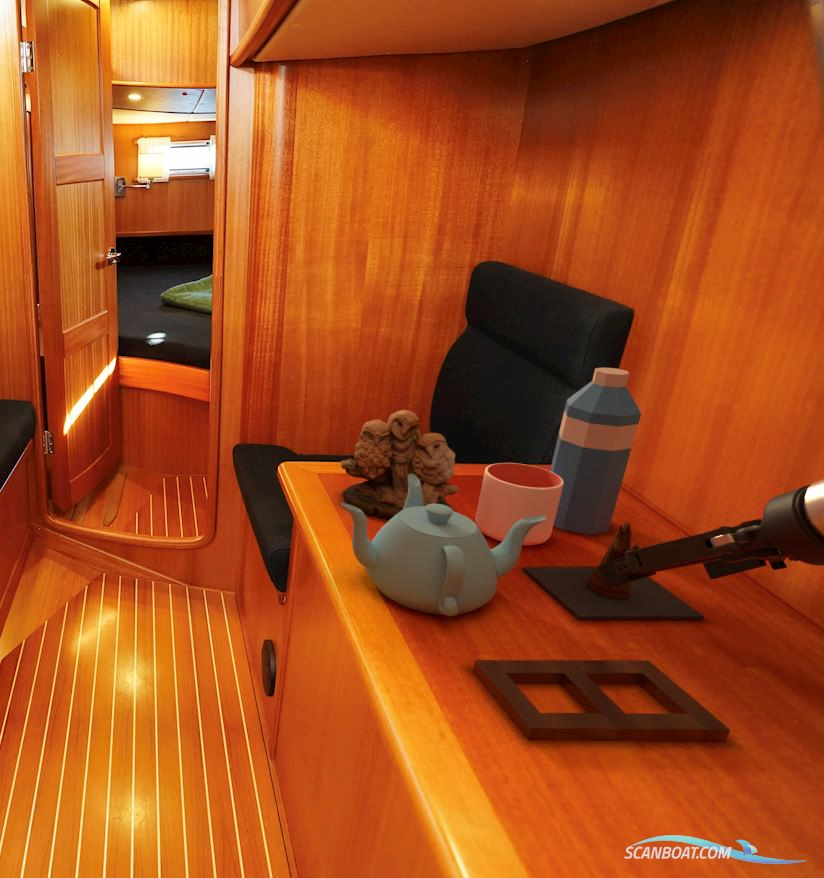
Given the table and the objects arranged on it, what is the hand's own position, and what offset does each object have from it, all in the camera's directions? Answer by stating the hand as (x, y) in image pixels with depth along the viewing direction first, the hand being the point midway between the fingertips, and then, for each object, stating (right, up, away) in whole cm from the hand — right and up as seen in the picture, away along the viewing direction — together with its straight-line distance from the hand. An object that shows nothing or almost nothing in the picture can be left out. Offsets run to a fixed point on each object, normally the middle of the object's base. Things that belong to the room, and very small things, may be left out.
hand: (656, 572), depth 86 cm
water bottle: (+10, +3, +26) cm, 28 cm away
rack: (-17, -12, -12) cm, 24 cm away
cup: (-3, +1, +23) cm, 23 cm away
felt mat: (0, -4, +7) cm, 8 cm away
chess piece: (0, -4, +7) cm, 8 cm away
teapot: (-23, -4, +11) cm, 25 cm away
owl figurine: (-16, +5, +33) cm, 37 cm away
